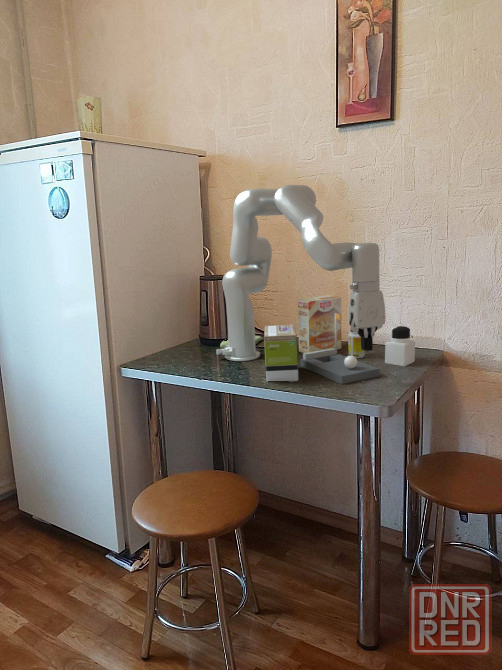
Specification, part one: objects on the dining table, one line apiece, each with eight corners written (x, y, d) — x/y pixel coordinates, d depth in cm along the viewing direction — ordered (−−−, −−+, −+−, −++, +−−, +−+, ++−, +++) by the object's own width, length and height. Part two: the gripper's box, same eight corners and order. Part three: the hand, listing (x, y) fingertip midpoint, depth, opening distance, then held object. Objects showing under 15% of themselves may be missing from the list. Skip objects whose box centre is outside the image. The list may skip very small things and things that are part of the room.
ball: (349, 371, 158) (349, 358, 157) (341, 367, 162) (341, 355, 161) (360, 368, 160) (360, 356, 159) (352, 365, 163) (352, 353, 163)
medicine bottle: (414, 361, 173) (415, 326, 171) (404, 366, 168) (405, 330, 166) (395, 358, 178) (395, 324, 176) (384, 363, 173) (385, 327, 171)
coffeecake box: (309, 355, 187) (308, 301, 183) (298, 351, 193) (296, 299, 189) (342, 348, 194) (342, 296, 190) (330, 345, 200) (329, 294, 196)
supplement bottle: (367, 356, 182) (368, 327, 180) (357, 359, 179) (357, 330, 177) (355, 353, 186) (355, 325, 184) (344, 356, 183) (344, 328, 181)
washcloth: (264, 340, 214) (264, 333, 213) (249, 351, 198) (248, 343, 197) (234, 339, 219) (234, 332, 218) (217, 350, 202) (216, 342, 202)
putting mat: (341, 384, 154) (341, 329, 150) (300, 366, 174) (299, 317, 171) (379, 376, 160) (380, 323, 156) (335, 359, 180) (335, 312, 177)
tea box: (265, 368, 173) (264, 324, 170) (296, 367, 173) (295, 323, 170) (265, 382, 159) (263, 335, 155) (299, 381, 158) (297, 333, 155)
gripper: (352, 291, 143) (353, 356, 146) (395, 285, 149) (395, 348, 153) (336, 288, 149) (338, 351, 153) (378, 283, 155) (378, 343, 159)
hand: (366, 349), depth 153 cm, fingers closed
